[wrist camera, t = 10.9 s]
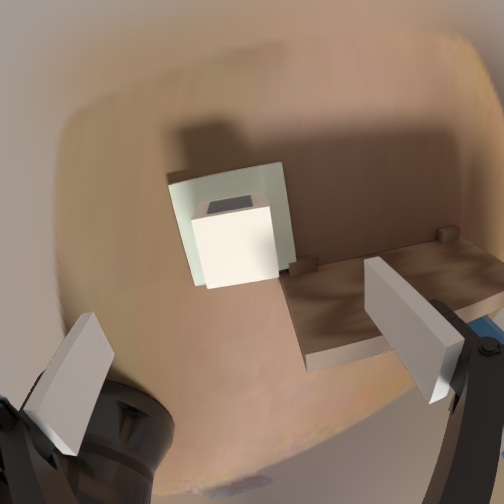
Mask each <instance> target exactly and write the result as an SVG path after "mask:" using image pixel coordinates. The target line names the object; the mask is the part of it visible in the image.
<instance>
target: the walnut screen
mask: <svg viewBox="0 0 504 504" xmlns="http://www.w3.org/2000/svg"><path fill="white" fill-rule="evenodd" d="M459 234H460V228H458V227H457V226H455V225H453V226H448V227H444V228H439V229H438V236H437V240H434V241H430V242H425V243H421V244H417V245H412V246H408V247H403V248H399V249H394V250H390V251H385V252H381V253H376V254H371V255H367V256H362V257H357V258H353V259H348V260H343V261H338V262H333V263H329V264H324V265H319V266H317V262H316V258H315V256H314V254H312V255H307V256H302V257H297V258H296V261H297V262H292V263H289V269H288V270H289V272H284V273H280V276H281V283H282V289H283V292H284V295H285V299H286V302H287V305H288V309H289V312H290V315H291V319H292V322H293V326H294V329H295V332H296V336H297V339H298V343H299V346H300V349H301V353H302V356H303V360H304V363H305V367H306V370H307V373H309V372H313V371H317V370H322V369H326V368H330V367H334V366H338V365H342V364H346V363H350V362H354V361H357V360H361V359H364V358H368V357H371V356H375V355H378V354H382V353H385V352H388V351H391V350H393V349H392V347H391V346H390V344H389V343H388V341H387V340H386V339H385V337H384V336H383V334H382V333H381V331H380V330H379V329H378V327H377V326H376V324H375V323H374V322H373V320H372V319H371V317H370V316H369V315H368V313H367V312H366V310H365V273H364V259H369V258H373V257H377V256H379V257H380V258H381V259H382V260H384V261H385V262H386V263H387V264H388V265H389V266H390V267H391V268H392V269H394V270H395V271H396V272H397V273H398V274H399V275H400V276H401V277H402V278H403V279H404V280H406V281H407V282H408V283H409V284H410V285H411V286H412V287H413V288H414V289H415V290H416V291H417V292H418V293H419V294H420V295H421V296H423V297H424V298H425V299H426V300H427V301H429V300H432V299H436V300H439V301H441V302H443V303H445V304H446V305H447V306H448V307H449V308H450V309H451V310H453V312H455V313H456V314H457V315H458V317H459V318H461V319H462V320H463V321H464V322H465V323H468V322H470V321H473V320H475V319H477V318H480V317H482V316H484V315H486V314H488V313H491V312H493V311H495V310H497V309H499V308H501V307H503V306H504V263H503V262H502V261H500V260H499V259H497V258H496V257H494V256H493V255H491V254H490V253H488V252H487V251H485V250H483V249H482V248H480V247H479V246H477V245H475V244H474V243H472V242H470V241H469V240H467V239H465V238H464V237H462V236H460V235H459Z"/></svg>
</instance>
